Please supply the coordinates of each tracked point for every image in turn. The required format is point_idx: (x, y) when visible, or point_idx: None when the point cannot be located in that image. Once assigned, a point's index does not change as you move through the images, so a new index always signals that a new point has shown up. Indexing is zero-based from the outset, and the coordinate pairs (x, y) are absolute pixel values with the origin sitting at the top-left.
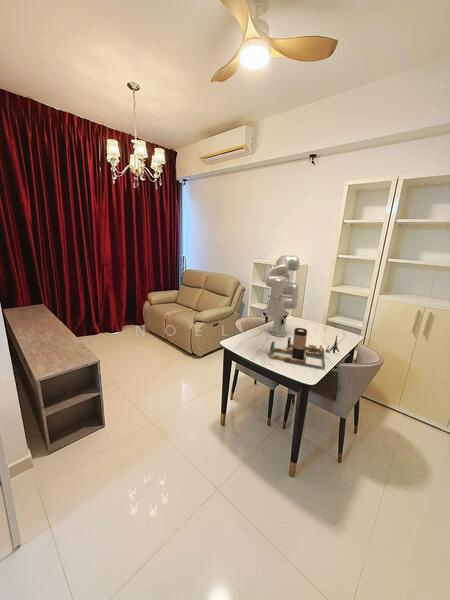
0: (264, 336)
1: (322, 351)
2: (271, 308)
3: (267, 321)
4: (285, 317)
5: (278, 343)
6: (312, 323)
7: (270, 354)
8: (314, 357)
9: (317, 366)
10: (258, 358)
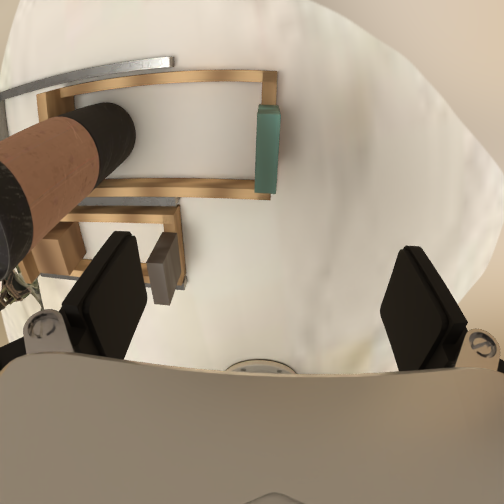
0: (328, 345)
1: None
2: None
3: (393, 297)
4: (5, 353)
5: (245, 295)
6: None
7: (270, 77)
8: None
9: (11, 89)
10: (346, 48)
